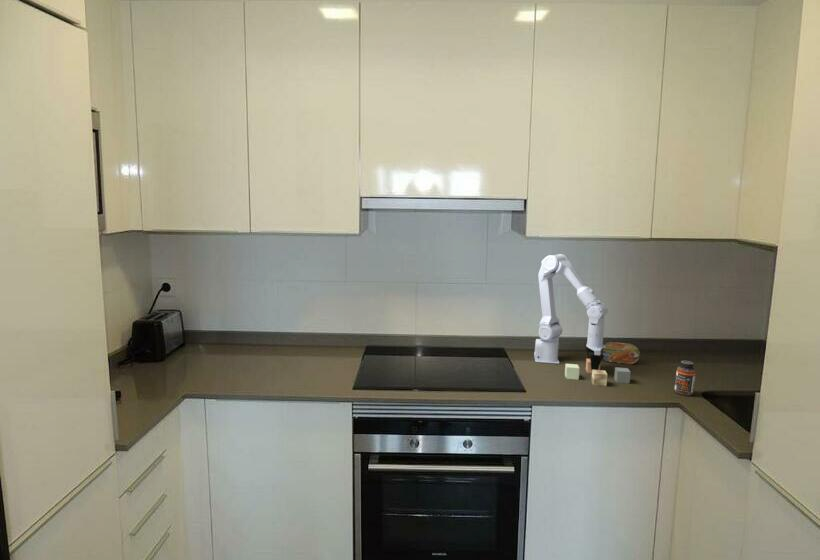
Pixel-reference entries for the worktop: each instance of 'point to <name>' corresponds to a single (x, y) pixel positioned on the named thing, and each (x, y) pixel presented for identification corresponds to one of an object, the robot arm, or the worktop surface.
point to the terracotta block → (589, 366)
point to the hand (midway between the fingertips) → (592, 367)
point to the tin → (621, 353)
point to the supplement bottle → (685, 378)
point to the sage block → (572, 371)
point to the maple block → (599, 377)
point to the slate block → (622, 375)
